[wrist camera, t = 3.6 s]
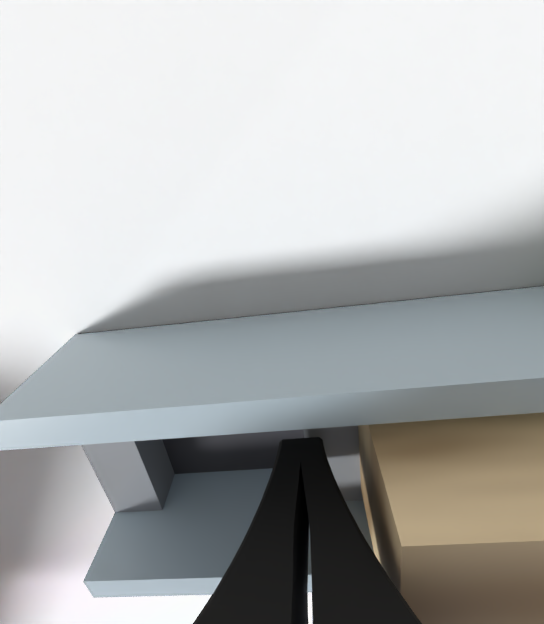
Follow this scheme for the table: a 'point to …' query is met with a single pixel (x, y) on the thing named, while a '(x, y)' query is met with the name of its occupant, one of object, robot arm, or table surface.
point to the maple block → (459, 515)
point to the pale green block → (259, 414)
